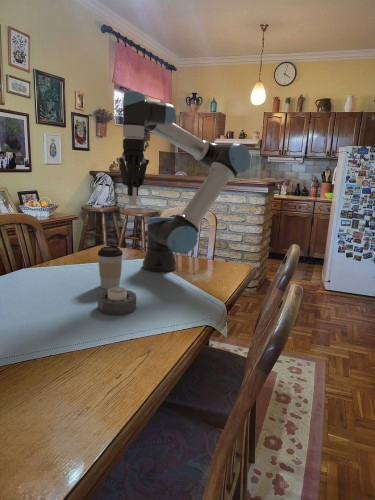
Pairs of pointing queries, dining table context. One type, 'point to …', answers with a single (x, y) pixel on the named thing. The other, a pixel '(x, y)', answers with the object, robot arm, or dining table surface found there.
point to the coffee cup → (110, 266)
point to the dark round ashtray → (116, 304)
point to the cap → (117, 293)
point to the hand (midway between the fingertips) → (132, 204)
